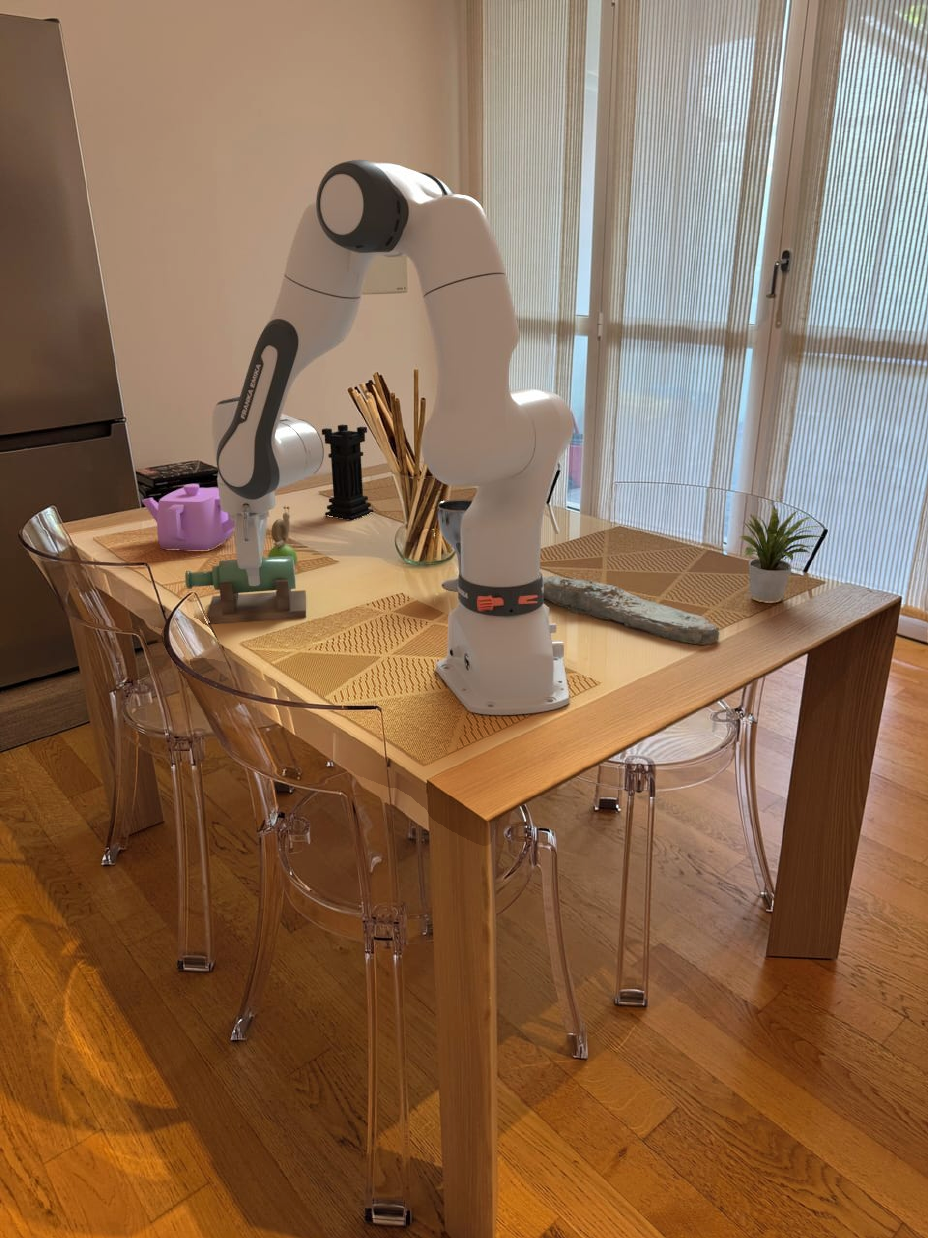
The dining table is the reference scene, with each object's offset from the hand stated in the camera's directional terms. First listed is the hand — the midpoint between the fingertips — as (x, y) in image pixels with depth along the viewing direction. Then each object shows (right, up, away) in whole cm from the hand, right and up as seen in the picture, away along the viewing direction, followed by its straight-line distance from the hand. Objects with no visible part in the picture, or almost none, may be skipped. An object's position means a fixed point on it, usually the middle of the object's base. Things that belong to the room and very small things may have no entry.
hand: (255, 577), depth 152 cm
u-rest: (0, -5, +2) cm, 6 cm away
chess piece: (+8, +17, +59) cm, 62 cm away
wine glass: (+34, -1, +13) cm, 37 cm away
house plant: (+87, -4, +4) cm, 87 cm away
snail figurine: (+1, +2, +21) cm, 21 cm away
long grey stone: (+61, -7, -2) cm, 61 cm away
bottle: (-2, -2, -1) cm, 3 cm away
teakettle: (-22, +9, +40) cm, 47 cm away
